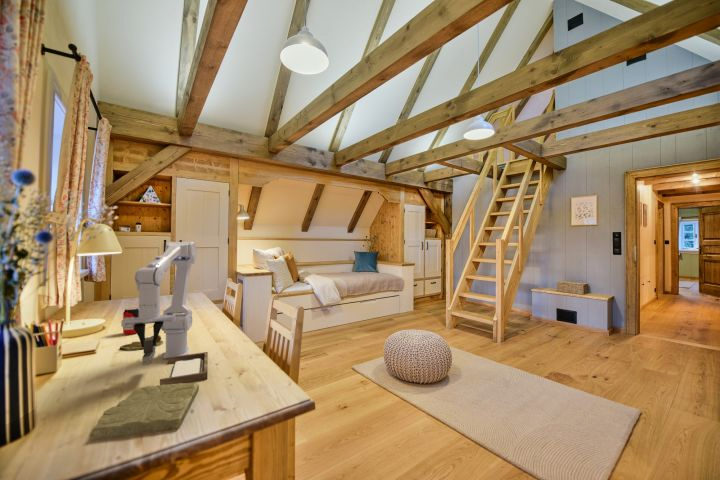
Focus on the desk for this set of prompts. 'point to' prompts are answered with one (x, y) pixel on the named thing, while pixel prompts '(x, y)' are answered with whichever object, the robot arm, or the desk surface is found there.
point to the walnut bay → (191, 376)
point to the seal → (139, 345)
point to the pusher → (148, 351)
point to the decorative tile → (147, 411)
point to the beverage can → (128, 314)
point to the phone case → (186, 367)
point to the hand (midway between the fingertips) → (149, 345)
